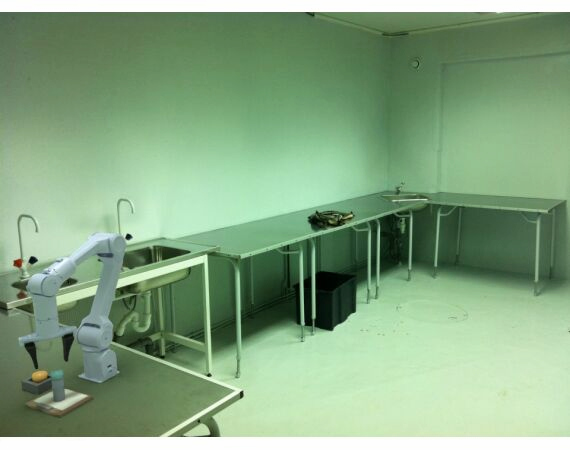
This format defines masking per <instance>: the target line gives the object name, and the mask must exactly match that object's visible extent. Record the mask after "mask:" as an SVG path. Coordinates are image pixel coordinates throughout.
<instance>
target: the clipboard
mask: <svg viewBox="0 0 570 450" xmlns="http://www.w3.org/2000/svg"><path fill="white" fill-rule="evenodd" d="M64 389H65V400H63V401H60V402H54V400H53V390H52V389H49V391H47V392H45V393H44V392H43V394H42V393H41V394H39V396H36V397H34V398H33V399H31V400H29V401H27V402H25V403H24V406H25V407H26V408H30V409H33V410H36V411H39V412H42V413H45V414H48V415H50V416H54V417H56V418H62V417H64V416H66V415H68V414H69V413H71V412H73V411H75V410H76V409H78V408H80V407H82V406H84V405H85V404H88V402H90V401H92V400H94V396H93V395H90V394H87V393H84V392H83V393H82V392H80V391H79V392H78V391H76V390H72V389H69V388H66V387H64Z"/></svg>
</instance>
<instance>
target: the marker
mask: <svg viewBox="0 0 570 450" xmlns="http://www.w3.org/2000/svg"><path fill="white" fill-rule="evenodd" d="M50 375H51V380H52V388H51V390H53V400H54V402H60V401H63V400H65V389H64V388H65V380H64V375H65V374H64V370H63V369H61V368H60V369H59V368H58V369H54V370H51V372H50Z"/></svg>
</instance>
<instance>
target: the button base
mask: <svg viewBox="0 0 570 450" xmlns="http://www.w3.org/2000/svg"><path fill="white" fill-rule="evenodd" d="M47 378H48V379H47V380H45V381H43V382H40V383H35V382H33V381H32V375H31V376H30V377H29V376H28V377H27V378H25V379H22V380H21V381H20V382H21V389H22V390H23V391H27V392H30V393H34V394H37V395H41V394H42V393H44V392H45V391H47V390H51V389H52V380H51V375H50V373H49V372H47Z"/></svg>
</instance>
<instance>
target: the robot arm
mask: <svg viewBox="0 0 570 450" xmlns="http://www.w3.org/2000/svg"><path fill="white" fill-rule="evenodd" d="M127 246H128V243H127V241H126V240H125V237H124V235H122V234H121V233H111V232H110V233H109V232H100V231H94V232H92V234H91V235H89V236H87V237H86V241H85V242H84V243H82V245H80V246H79V248H77V249H76V250H75V251H73V252H72V254H71V255H69V256H68V257H66V256H63V257H57V258H56V259H55V262H54V263H52V264H51V265H49V266H48V267H46V268H44V269H43V270H42V272H41V273H39V272H38V273H35V274H33V275H32V276H31V277H29V279H28V282H27V285H26V286H25V289H26V291H27V293H28V294H30V297H31V300H32V302H33V303H32V304H33V305H32V306H33V312H34V313H33V314H34V321H35V330H36V331H35V332H33V333H29V334H27V335H22V336H21V337H18V345H19V347H20V348H21V347H24V349H25V350H26V352H27V353H28V354H29V356H30V358H31V360H32V362H33V366H34V370H38V369H39V362H38V357H37V347H36V344H35V343H40V342H44V341H48V340H52V339H57V338H61V343H62V353H63V360H64V362H65V363H67V362H69V355H70V351H71V348H72V345H73V343H74V340H75V341H76V343H77V345H78V344H79V345H80V349H82V359H83V360H82V361H83V370H84V371H83V372H82V373H80V374H79V375H77V376H78V379H82V380H86V381H90V382H93V383H97V384H102V383H104V382H105V381H108V380H109V379H111V378H113V377H114V376H117V375H118V374H120V371H119V370H118V364H117V354H116V352H115V351H114V350H112V349H111V348H110V346H111V344H112V341H113V331H114V330H113V329H114V324H113V323H112V321H111V320H110V319H109V316H110V313H111V308H112V304H113V302H114V297H115V295H116V291H117V287H118V284H119V283H118V282H119V279H120V274H121V271H122V268H123V265H124V256H125V253H126V249H127ZM94 255H95V256H96V257H97V258H98V260H101V262H102V264H103V266H102V270H101V272H100V273H101V274H100V278H99V280H98V284H97V287H96V290H95V291H96V292H95V294H94V299H93V301H92V305H91V309H90V313H89V314H88V315H87V316H85V317H84V318H82V319H81V323H80V325H79V327H78V328H77V326H76V325H71V326H64V327H60V322H59V321H60V320H59V313H58V303H57V302H58V301H57V294H58V293H59V291H60V289H61V286H62V285H63V284H64V283H65V282H66V281H67V280H68V279H70V278H71V276H73V275H75V273H76V271H77V268H78V266H80V265H81V264H83V263H84V262H86V261H87V260H88V259H90V258H91V257H92V256H94Z"/></svg>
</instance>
